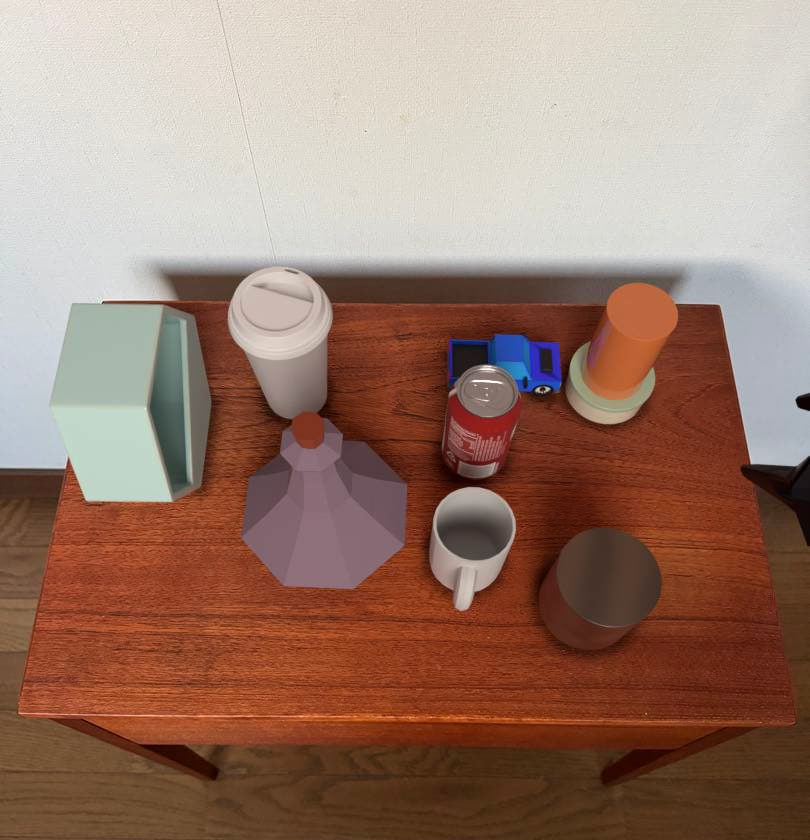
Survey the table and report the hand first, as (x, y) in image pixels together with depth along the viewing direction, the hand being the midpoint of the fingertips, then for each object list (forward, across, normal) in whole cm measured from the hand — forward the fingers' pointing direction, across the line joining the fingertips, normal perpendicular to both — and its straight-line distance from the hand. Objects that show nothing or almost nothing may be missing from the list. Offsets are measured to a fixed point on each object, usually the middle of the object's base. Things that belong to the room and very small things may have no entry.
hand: (770, 435), depth 63 cm
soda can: (+24, +13, -6) cm, 28 cm away
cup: (+18, +24, -1) cm, 30 cm away
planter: (+40, +34, -23) cm, 58 cm away
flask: (+28, +29, -10) cm, 41 cm away
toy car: (+26, +4, -9) cm, 28 cm away
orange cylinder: (+18, -3, -5) cm, 18 cm away
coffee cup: (+37, +20, -20) cm, 46 cm away
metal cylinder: (+11, +18, +7) cm, 22 cm away
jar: (+20, -3, -3) cm, 20 cm away
